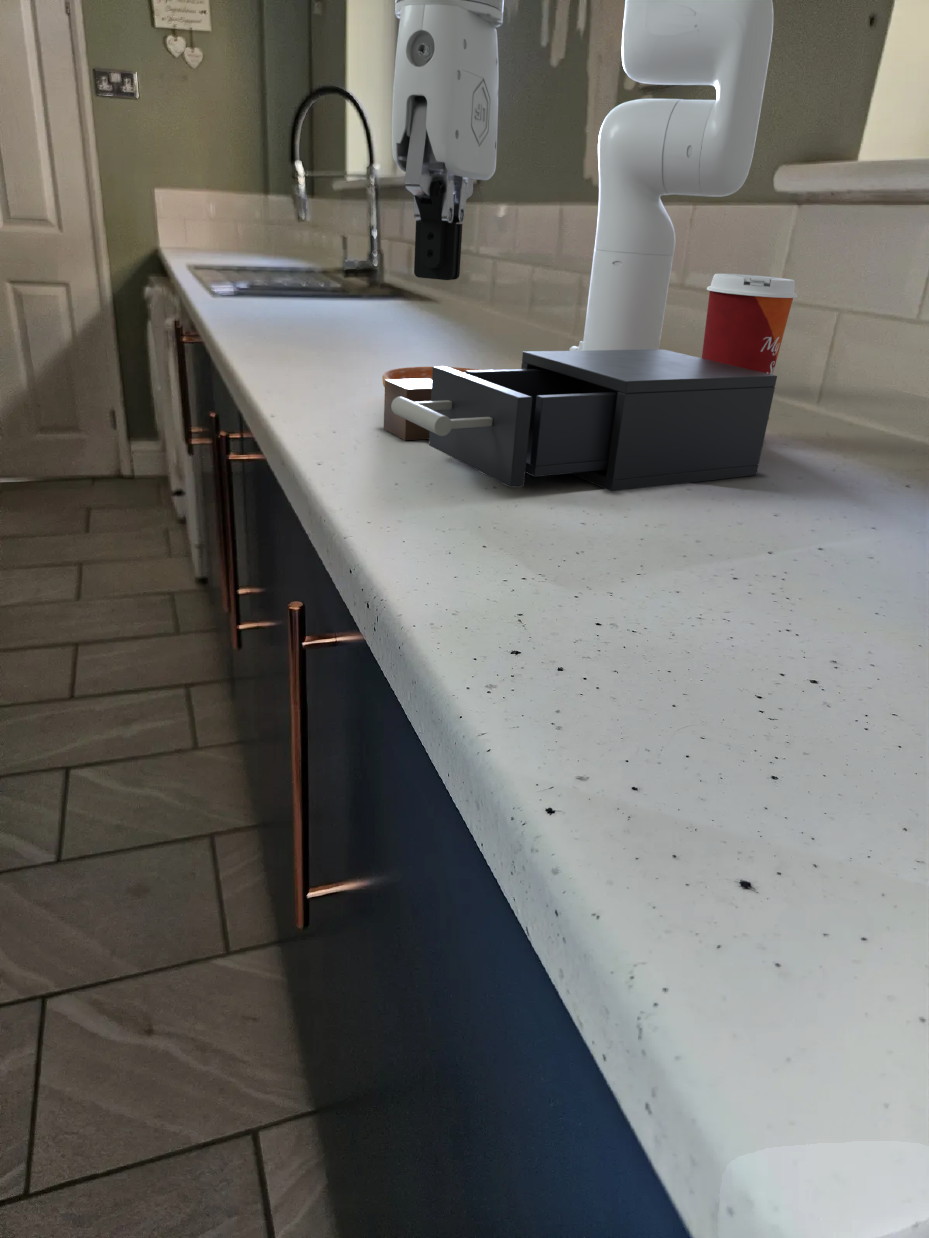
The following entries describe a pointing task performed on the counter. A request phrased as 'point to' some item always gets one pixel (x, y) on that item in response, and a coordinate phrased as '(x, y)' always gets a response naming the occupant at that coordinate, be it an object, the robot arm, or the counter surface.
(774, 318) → the coffee cup
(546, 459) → the drawer
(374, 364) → the counter surface
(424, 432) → the block
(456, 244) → the robot arm
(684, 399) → the dark grey drawer cabinet
